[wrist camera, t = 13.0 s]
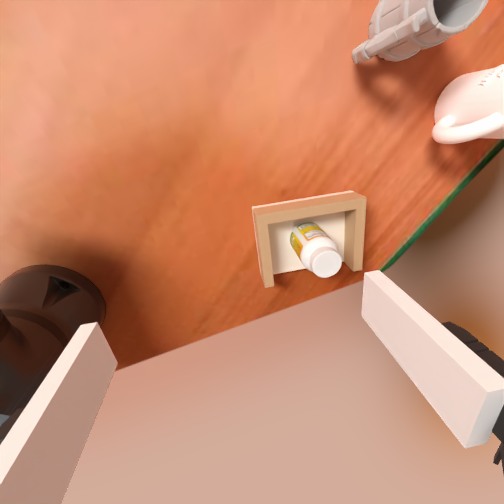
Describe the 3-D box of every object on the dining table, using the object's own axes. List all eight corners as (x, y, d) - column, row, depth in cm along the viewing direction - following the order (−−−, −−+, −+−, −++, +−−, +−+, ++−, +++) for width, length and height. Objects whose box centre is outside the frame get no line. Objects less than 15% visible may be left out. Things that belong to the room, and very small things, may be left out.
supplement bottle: (304, 214, 41) (328, 237, 32) (327, 233, 43) (355, 259, 34) (281, 240, 42) (299, 268, 34) (305, 257, 44) (326, 288, 36)
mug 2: (401, 110, 37) (477, 103, 27) (481, 58, 36) (596, 29, 25) (416, 161, 41) (488, 174, 30) (489, 116, 39) (593, 113, 29)
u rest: (260, 273, 46) (265, 287, 42) (251, 206, 40) (255, 215, 36) (349, 257, 47) (362, 269, 43) (351, 190, 41) (366, 197, 37)
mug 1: (431, 40, 34) (530, 0, 23) (350, 95, 36) (408, 82, 25) (415, -30, 31) (523, -114, 20) (327, 34, 32) (383, -12, 22)
